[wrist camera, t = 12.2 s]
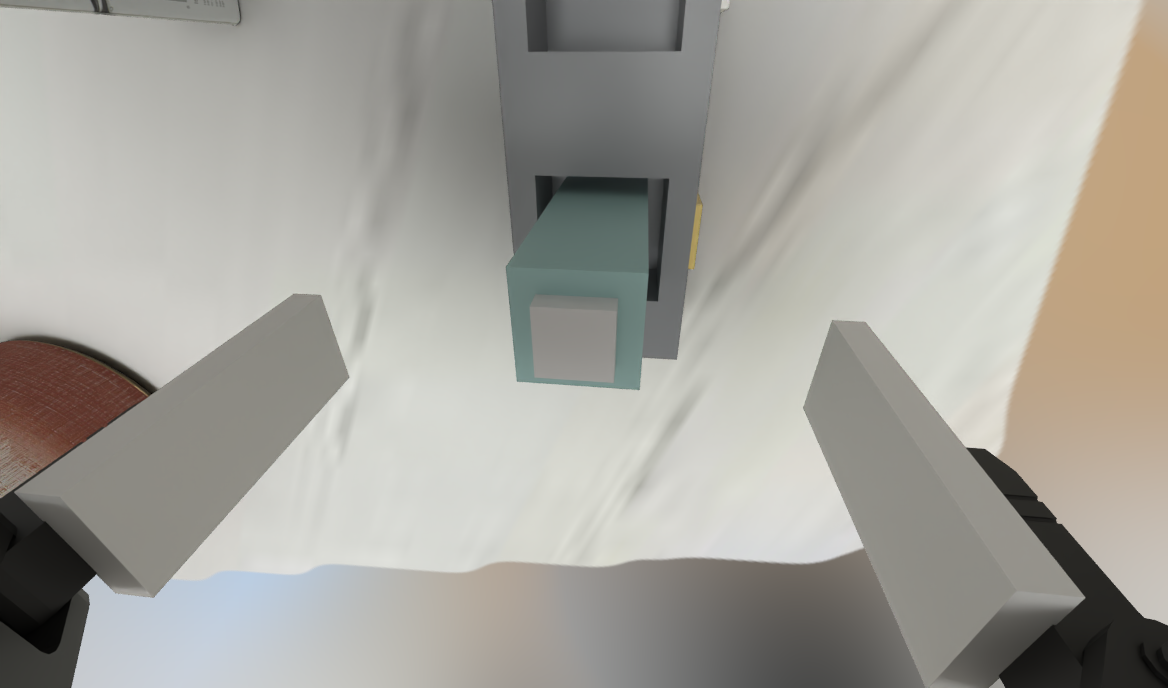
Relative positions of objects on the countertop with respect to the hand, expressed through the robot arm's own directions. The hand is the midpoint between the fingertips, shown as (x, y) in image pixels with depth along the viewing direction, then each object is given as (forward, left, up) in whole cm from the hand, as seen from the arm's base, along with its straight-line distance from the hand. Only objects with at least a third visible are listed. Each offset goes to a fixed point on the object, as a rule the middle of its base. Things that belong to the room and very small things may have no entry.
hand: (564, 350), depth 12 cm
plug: (0, 0, -14) cm, 14 cm away
